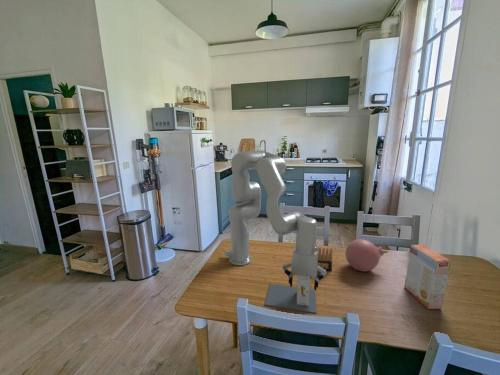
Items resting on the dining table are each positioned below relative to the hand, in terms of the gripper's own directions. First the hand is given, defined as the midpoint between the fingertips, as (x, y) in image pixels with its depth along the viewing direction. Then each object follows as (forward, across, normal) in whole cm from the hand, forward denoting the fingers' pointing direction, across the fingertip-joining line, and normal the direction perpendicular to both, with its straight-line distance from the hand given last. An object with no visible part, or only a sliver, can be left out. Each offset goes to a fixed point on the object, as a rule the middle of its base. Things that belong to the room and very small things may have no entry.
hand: (303, 286), depth 99 cm
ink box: (+6, 0, 0) cm, 6 cm away
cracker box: (+6, -48, -12) cm, 50 cm away
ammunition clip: (+6, -8, -25) cm, 27 cm away
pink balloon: (+6, -30, -30) cm, 43 cm away
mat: (+6, +5, 0) cm, 7 cm away
